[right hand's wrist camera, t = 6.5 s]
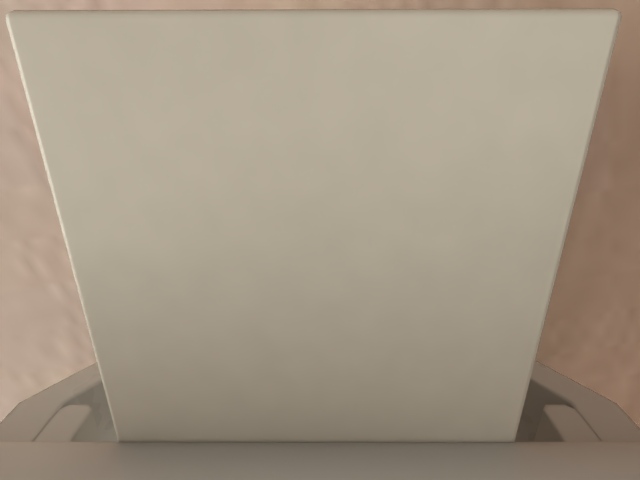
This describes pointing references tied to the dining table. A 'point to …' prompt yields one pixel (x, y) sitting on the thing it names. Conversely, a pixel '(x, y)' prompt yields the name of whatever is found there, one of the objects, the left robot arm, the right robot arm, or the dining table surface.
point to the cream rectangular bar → (314, 209)
